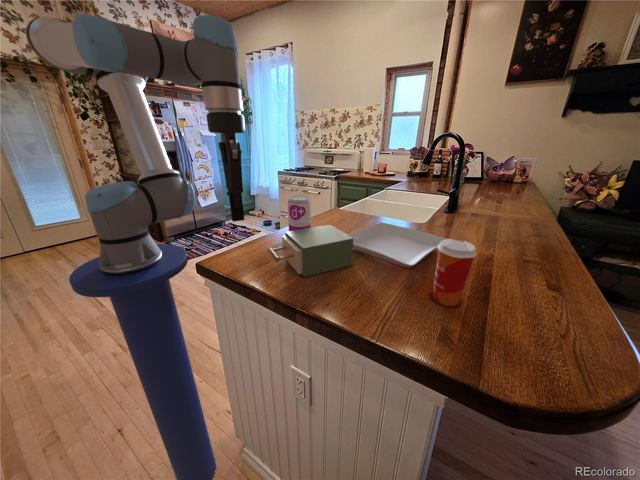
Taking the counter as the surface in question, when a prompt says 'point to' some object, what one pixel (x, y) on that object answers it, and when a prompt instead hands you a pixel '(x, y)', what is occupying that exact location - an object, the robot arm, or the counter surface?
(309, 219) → the supplement can
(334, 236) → the cabinet
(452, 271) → the paper cup
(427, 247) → the square plate
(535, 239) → the counter surface
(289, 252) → the drawer
